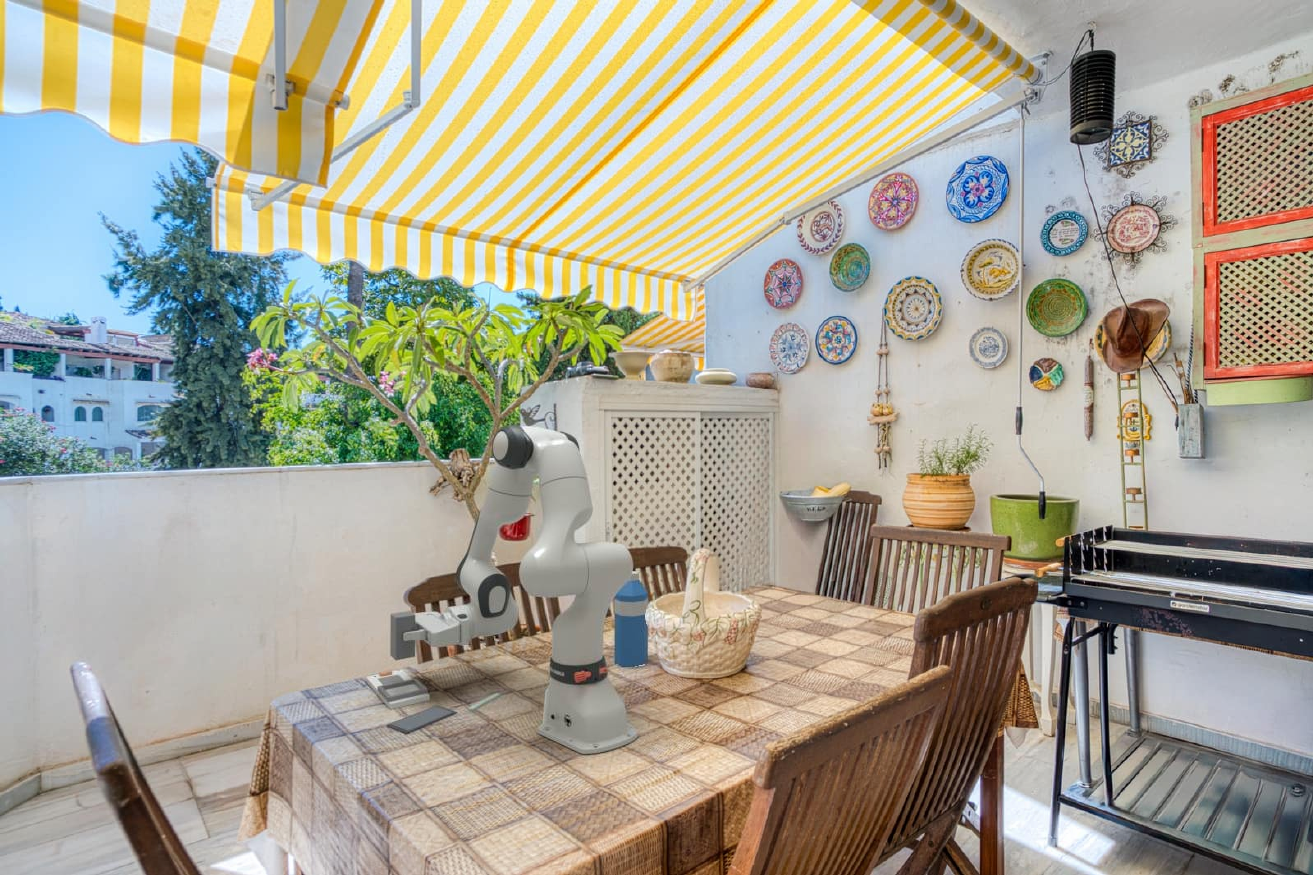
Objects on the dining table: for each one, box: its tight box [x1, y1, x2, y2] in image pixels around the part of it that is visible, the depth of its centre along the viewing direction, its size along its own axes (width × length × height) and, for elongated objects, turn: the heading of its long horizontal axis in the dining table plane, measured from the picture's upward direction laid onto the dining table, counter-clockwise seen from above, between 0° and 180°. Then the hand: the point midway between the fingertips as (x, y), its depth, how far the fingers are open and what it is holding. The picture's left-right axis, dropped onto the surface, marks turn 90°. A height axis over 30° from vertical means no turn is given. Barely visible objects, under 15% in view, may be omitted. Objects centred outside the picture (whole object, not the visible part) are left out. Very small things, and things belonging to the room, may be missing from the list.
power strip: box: [365, 669, 431, 710], centre depth 161 cm, size 22×9×2 cm, turn 37°
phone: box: [386, 704, 458, 735], centre depth 144 cm, size 7×13×1 cm, turn 146°
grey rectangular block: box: [389, 610, 416, 661], centre depth 158 cm, size 4×4×10 cm
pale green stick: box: [467, 692, 501, 713], centre depth 154 cm, size 10×1×1 cm, turn 155°
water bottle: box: [613, 570, 649, 668], centre depth 182 cm, size 9×9×25 cm
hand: (399, 633), depth 157 cm, fingers closed on grey rectangular block, 4 cm apart
